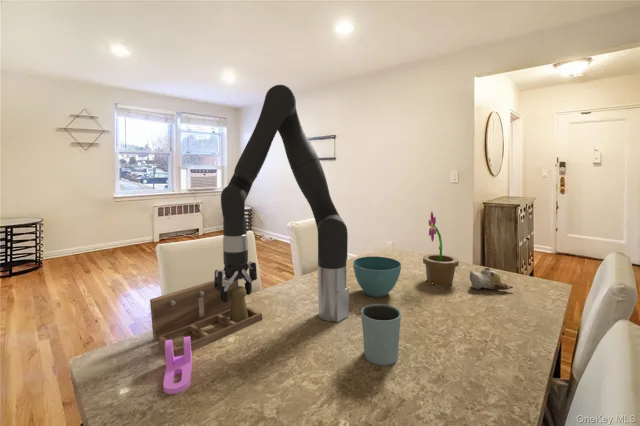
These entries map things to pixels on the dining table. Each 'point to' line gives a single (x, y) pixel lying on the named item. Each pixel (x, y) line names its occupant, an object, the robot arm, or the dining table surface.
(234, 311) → the olive bulbous cylinder
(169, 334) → the wooden peg rack
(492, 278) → the ceramic sculpture
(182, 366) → the bracket
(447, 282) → the flowerpot
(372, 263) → the teal bowl
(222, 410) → the dining table surface
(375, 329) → the light blue cup
